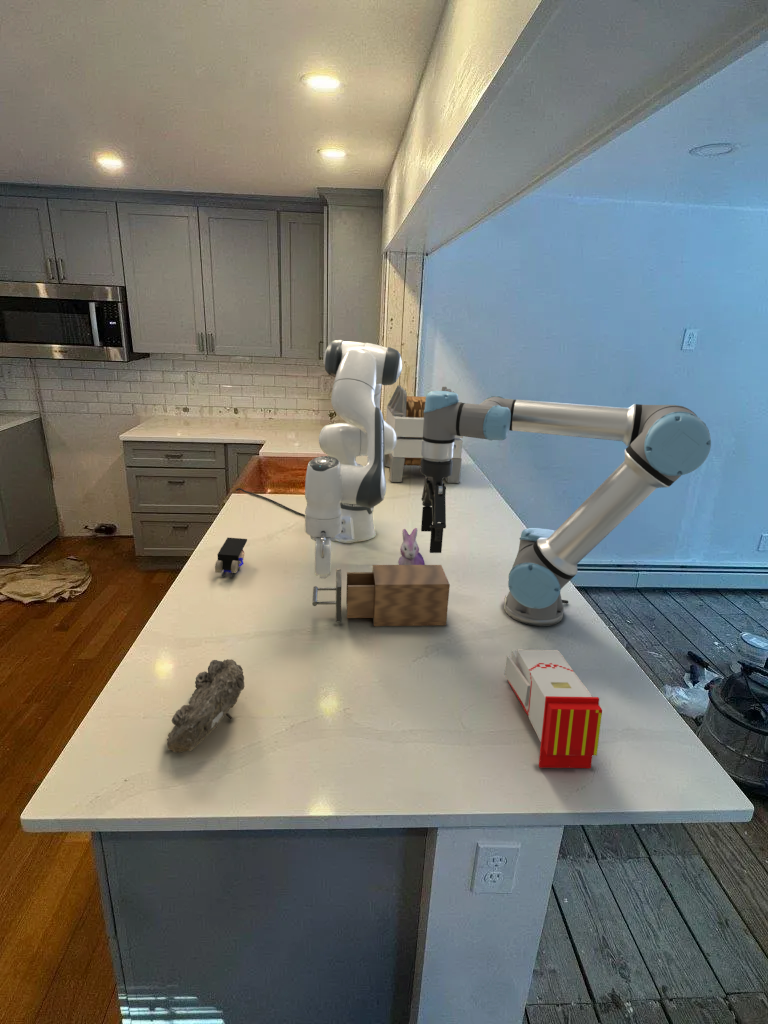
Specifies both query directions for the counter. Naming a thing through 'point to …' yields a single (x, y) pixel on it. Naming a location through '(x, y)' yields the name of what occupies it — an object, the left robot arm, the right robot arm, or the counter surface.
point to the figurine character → (230, 556)
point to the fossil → (206, 705)
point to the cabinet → (410, 595)
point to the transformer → (412, 435)
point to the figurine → (410, 550)
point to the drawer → (352, 595)
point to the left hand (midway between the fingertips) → (323, 576)
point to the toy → (556, 707)
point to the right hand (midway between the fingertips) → (430, 541)
